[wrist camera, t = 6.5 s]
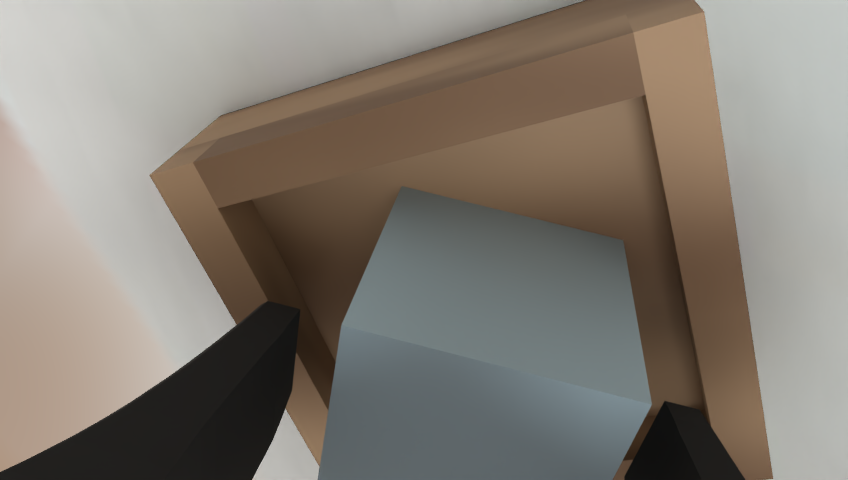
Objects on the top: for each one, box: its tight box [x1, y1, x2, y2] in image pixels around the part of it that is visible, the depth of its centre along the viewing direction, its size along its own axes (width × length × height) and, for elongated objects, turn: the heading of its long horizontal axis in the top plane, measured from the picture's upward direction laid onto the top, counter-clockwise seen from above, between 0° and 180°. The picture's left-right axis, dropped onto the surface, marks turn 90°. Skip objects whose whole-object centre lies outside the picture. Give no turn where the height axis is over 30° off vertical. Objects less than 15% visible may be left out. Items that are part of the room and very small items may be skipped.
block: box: [318, 186, 652, 480], centre depth 13 cm, size 4×4×4 cm
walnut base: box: [150, 0, 773, 480], centre depth 15 cm, size 10×10×3 cm
